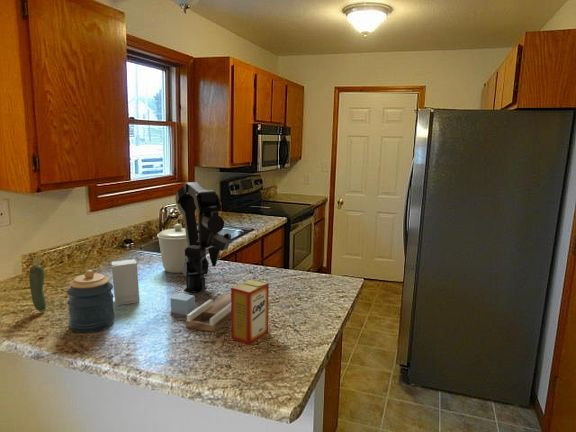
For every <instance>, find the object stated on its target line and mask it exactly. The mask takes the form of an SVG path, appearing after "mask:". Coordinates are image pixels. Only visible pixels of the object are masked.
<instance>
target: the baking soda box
mask: <svg viewBox="0 0 576 432" xmlns="http://www.w3.org/2000/svg"><path fill="white" fill-rule="evenodd" d="M269 285H270V284H269V283H268V282H264V281H260V280H256V279H252V278H251V279H249V280H246V281H244V282H242V283H239V284H237V285H235V286H233V287H230V295H231V318H230V319H231V321H230V322H231V323H230V324H231V325H230V326H231V331H230V333H231V334H230V336H231V337H230V338H231V340H235V341H236V342H237V341H238V342H241V343H244V344H247V345H250V344H252V343H254V342H255V341H257V340H258V339H260V338H261V337H264V336H265V335H266V334H268V333H269Z"/></svg>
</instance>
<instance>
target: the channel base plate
mask: <svg viewBox="0 0 576 432" xmlns="http://www.w3.org/2000/svg"><path fill="white" fill-rule="evenodd" d="M230 303H231V294H227V293H224V294H222V295H220V296H219V297H217V298H216V299H215V300H212V306H211V307H209V308H208V309H207V310H205V311H204V312H202V313H201V314H200V315H198V316H197V317H195V318H194V319H193V320H191V321H187V319H186V320H185V327H186V328H191V329H197V330H200V331H201V330H202V331H208V332H211V333H215V332H216V331H217V330H219V329H220V328H221V327H222V326H223V325H224V324H225V323H227V322H228V321H229V320H230V319H231V311H230V312H229V313H228V314H226V315H225V316H224V317H223V318H222V319H220V320H219V321H218V322H217V323H215V324H214V325H213V326H212V325H210V318H212V317H213V316H214V315H215V314H217V313H218V312H219V311H221V310H222V309H223V308H225V307H226V306H227V305H228V304H230Z"/></svg>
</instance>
